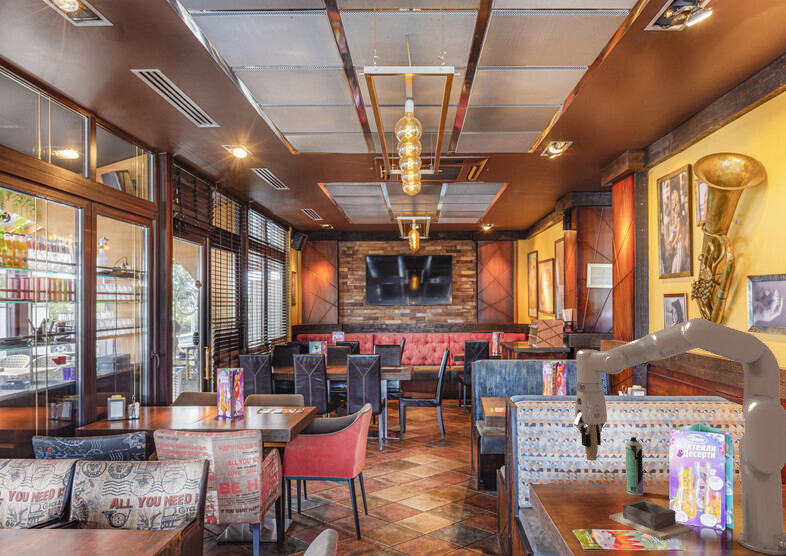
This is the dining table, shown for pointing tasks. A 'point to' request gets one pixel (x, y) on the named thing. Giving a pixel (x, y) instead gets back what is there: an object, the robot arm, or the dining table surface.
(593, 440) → the handle
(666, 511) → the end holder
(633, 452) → the spray can
